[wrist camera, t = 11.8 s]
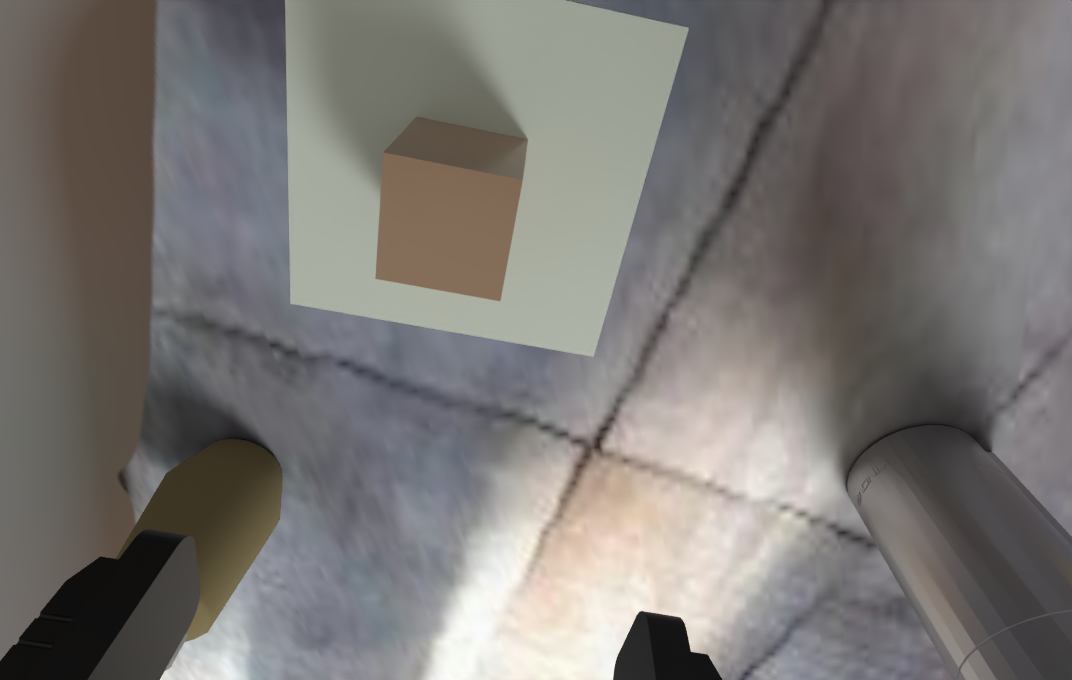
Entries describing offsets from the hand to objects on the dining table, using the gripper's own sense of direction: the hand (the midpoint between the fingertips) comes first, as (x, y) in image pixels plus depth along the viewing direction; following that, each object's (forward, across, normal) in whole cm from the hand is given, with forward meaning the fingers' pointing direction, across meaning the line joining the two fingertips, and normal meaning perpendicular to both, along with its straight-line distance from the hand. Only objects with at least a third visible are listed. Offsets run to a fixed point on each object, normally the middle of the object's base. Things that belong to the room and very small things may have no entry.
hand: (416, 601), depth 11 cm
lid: (+16, +2, -3) cm, 17 cm away
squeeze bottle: (+26, +16, +25) cm, 40 cm away
